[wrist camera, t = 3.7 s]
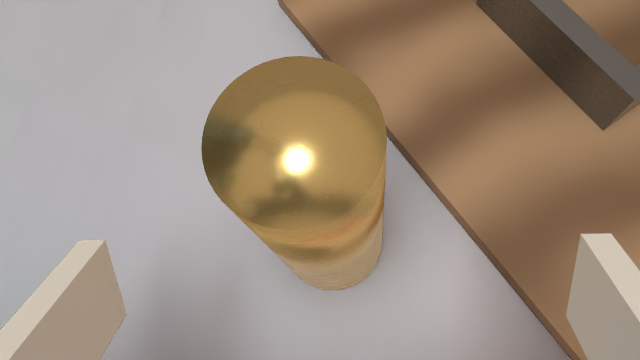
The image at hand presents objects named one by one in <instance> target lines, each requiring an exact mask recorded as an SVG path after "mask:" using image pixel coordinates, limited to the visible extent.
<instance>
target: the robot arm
mask: <svg viewBox="0 0 640 360" xmlns="http://www.w3.org/2000/svg"><path fill="white" fill-rule="evenodd" d="M126 315H127V314H126V310H125V307H124V303H123V300H122V296H121V293H120V290H119V286H118V283H117V279H116V276H115V272H114V269H113V266H112V262H111V259H110V255H109V252H108V248H107V245H106V241H105V240H80V241H79V242H78V243H77V244H76V245H75V246H74V247H73V249H72V250H71V251H70V252H69V253H68V254H67V255H66V256H65V258H64V259H63V260H62V261H61V262H60V263H59V264H58V266H57V267H56V268H55V269H54V270H53V271H52V272H51V274H50V275H49V276H48V277H47V278H46V279H45V280H44V281H43V283H42V284H41V285H40V286H39V287H38V288H37V289H36V291H35V292H34V293H33V294H32V295H31V296H30V297H29V299H28V300H27V301H26V302H25V303H24V304H23V305H22V306H21V308H20V309H19V310H18V311H17V312H16V313H15V314H14V316H13V317H12V318H11V319H10V320H9V321H8V322H7V324H6V325H5V326H4V327H3V328H2V329H1V330H0V360H100V359H101V357H102V355H103V354H104V352H105V350H106V349H107V347H108V345H109V344H110V342H111V340H112V339H113V337H114V335H115V334H116V332H117V330H118V328H119V327H120V325H121V323H122V322H123V320H124V318H125V317H126ZM566 317H567V319H568V321H569V323H570V325H571V327H572V329H573V331H574V333H575V335H576V337H577V339H578V341H579V343H580V345H581V347H582V349H583V351H584V353H585V355H586V357H587V359H588V360H640V271H639V269H638V268H637V267H636V265H635V264H634V263H633V261H632V260H631V259H630V257H629V256H628V255H627V254H626V252H625V251H624V250H623V248H622V247H621V246H620V244H619V243H618V242H617V240H616V239H615V238H614V236H613V235H612V234H611V233H605V234H581V235H580V240H579V246H578V251H577V257H576V262H575V268H574V274H573V279H572V285H571V290H570V296H569V301H568V307H567V313H566Z"/></svg>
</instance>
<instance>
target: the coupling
mask: <svg viewBox="0 0 640 360" xmlns="http://www.w3.org/2000/svg"><path fill="white" fill-rule="evenodd" d="M386 142H387V136H386V125H385V120H384V116H383V113H382V110H381V108H380V105H379V103H378V101H377V99H376V98H375V96H374V94H373V93H372V92H371V90H370V89H369V88H368V86H367V85H366V84H365V83H364V82H363V81H362V80H361V79H360V78H359V77H357V76H356V75H355V74H353V73H352V72H351V71H349V70H347V69H346V68H344V67H342V66H340V65H338V64H336V63H333V62H331V61H327V60H324V59H320V58H314V57H303V56H295V57H284V58H279V59H274V60H271V61H268V62H265V63H262V64H260V65H258V66H256V67H253V68H252V69H250V70H248V71H247V72H245V73H243V74H242V75H241V76H239V77H238V78H237V79H235V80H234V81H233V82H232V83H231V84H230V85H229V86H228V87H227V88H226V89H225V90H224V91H223V92H222V94H221V95H220V96H219V97H218V99H217V100H216V102H215V104H214V105H213V107H212V109H211V111H210V113H209V115H208V118H207V121H206V124H205V127H204V131H203V137H202V159H203V164H204V169H205V172H206V175H207V178H208V180H209V182H210V184H211V186H212V188H213V190H214V191H215V193H216V194H217V195H218V197H219V198H220V199H221V201H222V202H223V203H224V204H226V205H227V206H228V207H229V208H230V209H231V210H232V211H233V212H234V213H235V214H236V215H237V216H238V217H239V218H240V219H241V220H242V221H243V222H244V223H245V224H246V225H247V226H248V227H249V228H250V229H251V230H252V231H253V232H254V233H255V234H256V235H257V236H258V237H259V238H260V239H261V240H262V241H263V242H264V243H265V244H266V245H267V246H268V247H269V248H270V249H271V250H272V251H273V252H274V253H275V254H276V255H277V256H278V257H280V258H281V259H282V260H283V261H284V262H285V263H286V264H287V265H288V266H289V267H290V268H291V269H292V270H293V271H294V272H295V273H296V274H297V275H298V276H299V277H300V278H301V279H302V280H304V281H305V282H306V283H308V284H310V285H312V286H314V287H317V288H320V289H324V290H341V289H346V288H349V287H352V286H354V285H356V284H358V283H359V282H361V281H362V280H364V279H365V278H366V277H367V276H368V275H369V274H370V273H371V272H372V270H373V269H374V267H375V266H376V264H377V262H378V260H379V257H380V254H381V249H382V234H383V211H384V188H385V165H386Z"/></svg>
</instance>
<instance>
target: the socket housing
mask: <svg viewBox="0 0 640 360" xmlns="http://www.w3.org/2000/svg"><path fill="white" fill-rule="evenodd" d="M476 5H477V6H478V7H479V8H480V9H481V10H482V11H483V12H484V13H485V14H486V15H487V16H488V17H489V18H490V19H491V20H492V21H493V22H494V23H495V24H496V25H497V26H498V27H499V28H500V29H501V30H502V31H503V32H504V33H505V34H506V35H507V36H508V37H509V38H510V39H511V40H512V41H513V42H514V43H515V44H516V45H517V46H518V47H519V48H520V49H521V50H522V51H523V52H524V53H525V54H526V55H527V56H528V57H529V58H530V59H531V60H532V61H533V62H534V63H535V64H536V65H537V66H538V67H539V68H540V69H541V70H542V71H543V72H544V73H545V74H546V75H547V76H548V77H549V78H550V79H551V80H552V81H553V82H554V83H555V84H556V85H557V86H558V87H559V88H560V89H561V90H562V91H563V92H564V93H565V94H566V95H567V96H568V97H569V98H570V99H571V100H572V101H573V102H574V103H575V104H576V105H577V106H578V107H579V108H580V109H581V110H582V111H583V112H584V113H585V114H586V115H587V116H588V117H589V118H590V119H591V120H592V121H593V122H594V123H595V124H596V125H597V126H599V127H600V128H601V129H602V130H603V131H604V130H605V129H606V128H608V127H609V126H611V125H612V124H613V123H615V122H616V121H617V120H619V119H620V118H621V117H623V116H624V115H626V114H627V113H628V112H630V111H631V110H632V109H634V108H635V107H636V106H638V105H639V104H640V64H639V65H637V66H636V67H634V66H633V65H632V64H631V63H630V62H629V61H627V60H626V59H625V58H624V57H623V56H622V55H621V54H620V53H619V52H618V51H617V50H616V49H614V48H613V47H612V46H611V45H610V44H609V43H608V42H607V41H606V40H605V39H604V38H603V37H601V36H600V35H599V34H598V33H597V32H596V31H595V30H594V29H593V28H592V27H591V26H590V25H588V24H587V23H586V22H585V21H584V20H583V19H582V18H581V17H580V16H579V15H578V14H577V13H575V12H574V11H573V10H572V9H571V8H570V7H569V6H568V5H567V4H566V3H565V2H564V1H562V0H477V2H476Z"/></svg>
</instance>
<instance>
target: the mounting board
mask: <svg viewBox="0 0 640 360" xmlns="http://www.w3.org/2000/svg"><path fill="white" fill-rule="evenodd" d="M562 1H564V2H565V3H566V4H567V5H568V6H569V7H570V8H571V9H572V10H573V11H574V12H575V13H577V14H578V15H579V16H580V17H581V18H582V19H583V20H584V21H585V22H586V23H587V24H588V25H590V26H591V27H592V28H593V29H594V30H595V31H596V32H597V33H598V34H599V35H600V36H601V37H603V38H604V39H605V40H606V41H607V42H608V43H609V44H610V45H611V46H612V47H613V48H614V49H616V50H617V51H618V52H619V53H620V54H621V55H622V56H623V57H624V58H625V59H626V60H627V61H629V62H630V63H631V64H632V65H633V66H634V67H636V66H637V65H639V64H640V0H562ZM278 2H279V5H280V7H281V8H282V9H283V10H284V11H285V13H286V14H287V15H288V16H289V18H290V19H291V20H292V21H293V22H294V24H295V25H296V26H297V27H298V28H299V30H300V31H301V32H302V33H303V34H304V36H305V37H306V38H307V39H308V41H309V42H310V43H311V44H312V45H313V47H314V48H315V49H316V50H317V51H318V53H319V54H320V55H321V56H322V57H323V59H324V60H327V61H331V62H333V63H336V64H338V65H340V66H342V67H344V68H346V69H347V70H349V71H351V72H352V73H353V74H355V75H356V76H357V77H359V78H360V79H361V80H362V81H363V82H364V83H365V84H366V85H367V86H368V88H369V89H370V90H371V92H372V93H373V94H374V96H375V98H376V99H377V101H378V103H379V105H380V108H381V110H382V113H383V116H384V120H385V125H386V135H387V136H388V137H389V139H390V140H391V141H392V142H393V143H394V145H395V146H396V147H397V148H398V150H399V151H400V152H401V153H402V154H403V156H404V157H405V158H406V159H407V160H408V162H409V163H410V164H411V165H412V166H413V168H414V169H415V170H416V171H417V173H418V174H419V175H420V176H421V177H422V179H423V180H424V181H425V182H426V183H427V185H428V186H429V187H430V188H431V189H432V191H433V192H434V193H435V194H436V196H437V197H438V198H439V199H440V200H441V202H442V203H443V204H444V205H445V206H446V208H447V209H448V210H449V211H450V212H451V214H452V215H453V216H454V217H455V219H456V220H457V221H458V222H459V223H460V225H461V226H462V227H463V228H464V229H465V231H466V232H467V233H468V234H469V235H470V237H471V238H472V239H473V240H474V242H475V243H476V244H477V245H478V246H479V248H480V249H481V250H482V251H483V252H484V254H485V255H486V256H487V257H488V258H489V260H490V261H491V262H492V263H493V265H494V266H495V267H496V268H497V269H498V271H499V272H500V273H501V274H502V275H503V277H504V278H505V279H506V280H507V281H508V283H509V284H510V285H511V286H512V288H513V289H514V290H515V291H516V292H517V294H518V295H519V296H520V297H521V298H522V300H523V301H524V302H525V303H526V304H527V306H528V307H529V308H530V309H531V311H532V312H533V313H534V314H535V315H536V317H537V318H538V319H539V320H540V321H541V323H542V324H543V325H544V326H545V327H546V329H547V330H548V331H549V332H550V334H551V335H552V336H553V337H554V338H555V340H556V341H557V342H558V343H559V344H560V346H561V347H562V348H563V349H564V350H565V352H566V353H567V354H568V355H569V357H570V358H571V359H572V360H588V359H587V357H586V355H585V353H584V351H583V349H582V347H581V345H580V343H579V341H578V339H577V337H576V335H575V333H574V331H573V329H572V327H571V325H570V323H569V321H568V319H567V317H566V313H567V307H568V301H569V296H570V290H571V285H572V279H573V274H574V268H575V262H576V257H577V251H578V246H579V240H580V235H581V234H605V233H611V234H612V235H613V236H614V238H615V239H616V240H617V242H618V243H619V244H620V246H621V247H622V248H623V250H624V251H625V252H626V254H627V255H628V256H629V257H630V259H631V260H632V261H633V263H634V264H635V265H636V267H637V268H638V269H639V271H640V104H639V105H638V106H636V107H635V108H634V109H632V110H631V111H630V112H628V113H627V114H626V115H624V116H623V117H621V118H620V119H619V120H617V121H616V122H615V123H613V124H612V125H611V126H609V127H608V128H606V129H605V130H604V131H603V130H602V129H601V128H600V127H599V126H597V125H596V124H595V123H594V122H593V121H592V120H591V119H590V118H589V117H588V116H587V115H586V114H585V113H584V112H583V111H582V110H581V109H580V108H579V107H578V106H577V105H576V104H575V103H574V102H573V101H572V100H571V99H570V98H569V97H568V96H567V95H566V94H565V93H564V92H563V91H562V90H561V89H560V88H559V87H558V86H557V85H556V84H555V83H554V82H553V81H552V80H551V79H550V78H549V77H548V76H547V75H546V74H545V73H544V72H543V71H542V70H541V69H540V68H539V67H538V66H537V65H536V64H535V63H534V62H533V61H532V60H531V59H530V58H529V57H528V56H527V55H526V54H525V53H524V52H523V51H522V50H521V49H520V48H519V47H518V46H517V45H516V44H515V43H514V42H513V41H512V40H511V39H510V38H509V37H508V36H507V35H506V34H505V33H504V32H503V31H502V30H501V29H500V28H499V27H498V26H497V25H496V24H495V23H494V22H493V21H492V20H491V19H490V18H489V17H488V16H487V15H486V14H485V13H484V12H483V11H482V10H481V9H480V8H479V7H478V6H477V5H476V2H477V0H278Z"/></svg>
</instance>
